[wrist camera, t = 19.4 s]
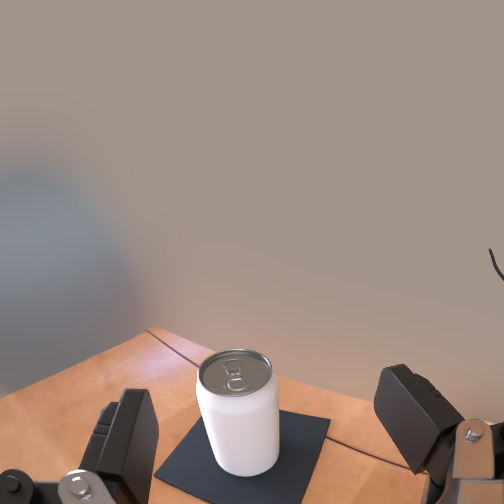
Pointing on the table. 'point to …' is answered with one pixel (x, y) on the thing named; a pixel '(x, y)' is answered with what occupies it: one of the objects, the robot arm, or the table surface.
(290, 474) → the desk mat
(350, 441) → the table surface
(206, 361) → the can
